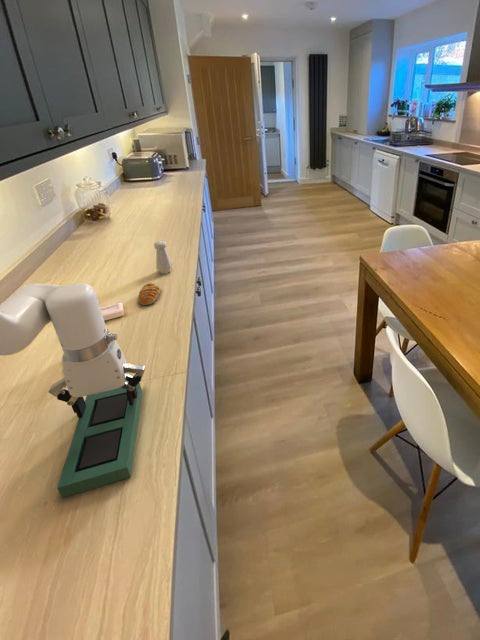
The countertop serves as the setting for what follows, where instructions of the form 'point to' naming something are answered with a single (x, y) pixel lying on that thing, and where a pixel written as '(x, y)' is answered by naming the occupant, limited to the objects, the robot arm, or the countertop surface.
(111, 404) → the pad
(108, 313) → the soap bar
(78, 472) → the green double tile frame
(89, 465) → the pad
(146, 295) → the pastry
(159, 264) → the salt shaker
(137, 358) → the countertop surface
